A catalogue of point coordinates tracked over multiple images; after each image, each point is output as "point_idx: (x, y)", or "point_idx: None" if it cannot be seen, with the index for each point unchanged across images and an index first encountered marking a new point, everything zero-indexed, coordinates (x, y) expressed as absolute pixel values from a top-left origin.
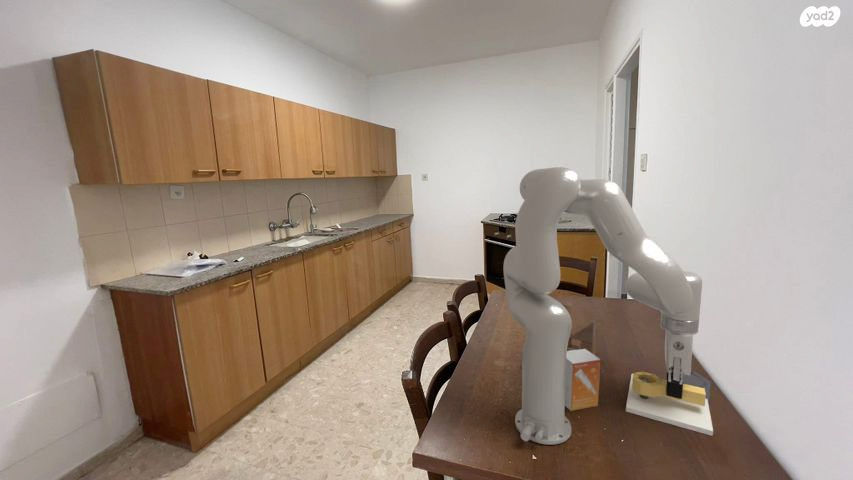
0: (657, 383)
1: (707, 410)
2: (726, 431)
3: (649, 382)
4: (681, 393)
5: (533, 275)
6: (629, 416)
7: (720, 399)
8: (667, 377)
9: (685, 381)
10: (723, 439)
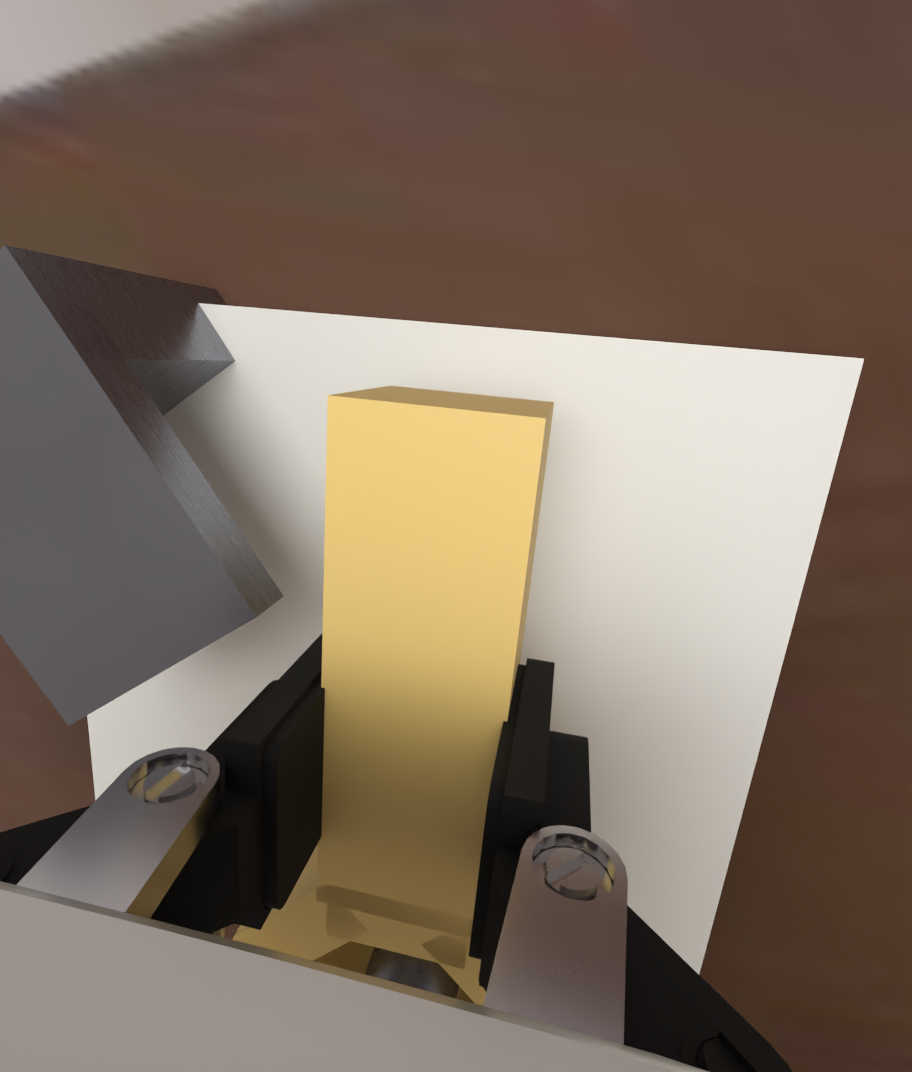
0: (464, 959)
1: (441, 342)
2: (693, 206)
3: (417, 978)
4: (551, 705)
5: None
6: (749, 957)
7: (90, 162)
8: (300, 869)
9: (186, 590)
10: (864, 264)
